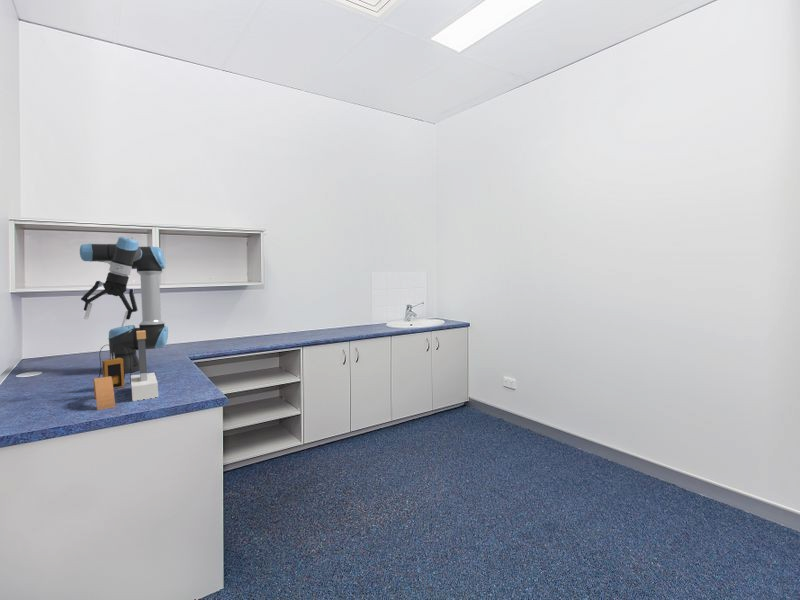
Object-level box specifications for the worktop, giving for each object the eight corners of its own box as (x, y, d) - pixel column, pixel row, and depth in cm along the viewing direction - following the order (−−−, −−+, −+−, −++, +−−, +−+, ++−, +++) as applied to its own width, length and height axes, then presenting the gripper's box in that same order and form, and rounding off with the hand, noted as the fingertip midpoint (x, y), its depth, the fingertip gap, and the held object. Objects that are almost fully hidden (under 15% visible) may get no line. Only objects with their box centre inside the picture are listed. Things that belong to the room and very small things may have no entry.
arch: (111, 395, 180) (109, 372, 180) (115, 407, 165) (113, 381, 164) (94, 398, 177) (92, 374, 176) (96, 410, 161) (94, 384, 160)
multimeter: (125, 381, 202) (123, 339, 200) (133, 385, 196) (131, 341, 194) (88, 389, 191) (85, 344, 189) (95, 392, 184) (92, 346, 183)
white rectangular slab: (131, 388, 190) (130, 368, 189) (155, 385, 194) (153, 366, 194) (132, 401, 171) (131, 379, 170) (158, 397, 176) (157, 375, 175)
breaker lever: (139, 377, 183) (136, 330, 182) (147, 376, 185) (145, 330, 184) (139, 379, 179) (136, 332, 178) (148, 378, 181) (145, 331, 180)
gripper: (81, 265, 173) (66, 316, 172) (150, 282, 182) (136, 330, 181) (87, 265, 180) (73, 314, 179) (153, 281, 189) (139, 328, 188)
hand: (104, 322), depth 180 cm, fingers open, 13 cm apart
